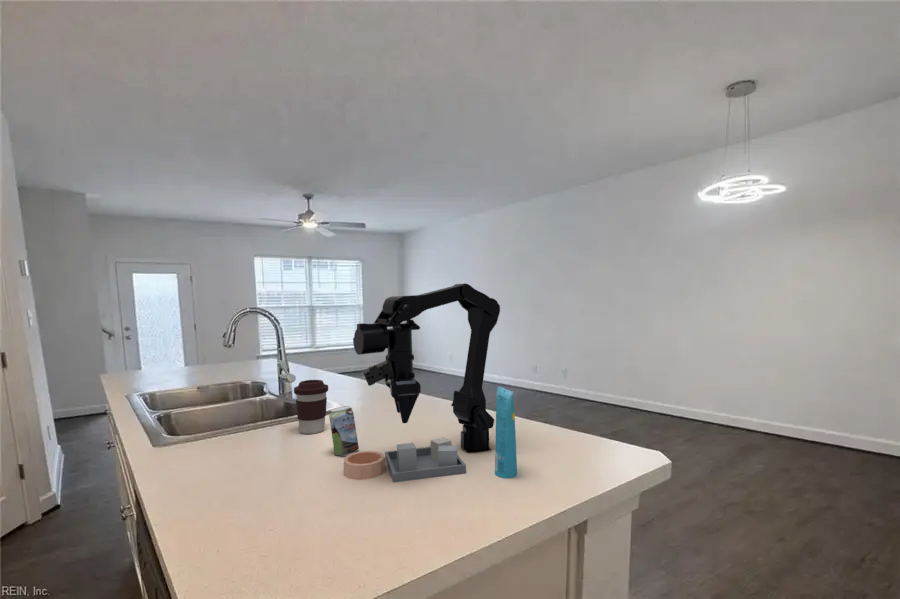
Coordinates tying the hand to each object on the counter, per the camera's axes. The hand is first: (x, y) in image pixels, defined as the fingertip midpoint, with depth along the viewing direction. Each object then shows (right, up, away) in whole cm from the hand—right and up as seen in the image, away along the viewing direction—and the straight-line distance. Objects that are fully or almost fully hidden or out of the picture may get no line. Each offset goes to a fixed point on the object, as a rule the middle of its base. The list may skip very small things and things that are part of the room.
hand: (402, 417), depth 102 cm
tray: (+5, -12, 0) cm, 13 cm away
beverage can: (-16, -12, +10) cm, 23 cm away
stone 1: (+1, -11, -1) cm, 11 cm away
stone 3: (+11, -11, -2) cm, 16 cm away
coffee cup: (-31, -13, +31) cm, 46 cm away
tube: (+24, -12, -5) cm, 27 cm away
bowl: (-8, -12, -2) cm, 15 cm away
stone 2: (+9, -11, +5) cm, 15 cm away
